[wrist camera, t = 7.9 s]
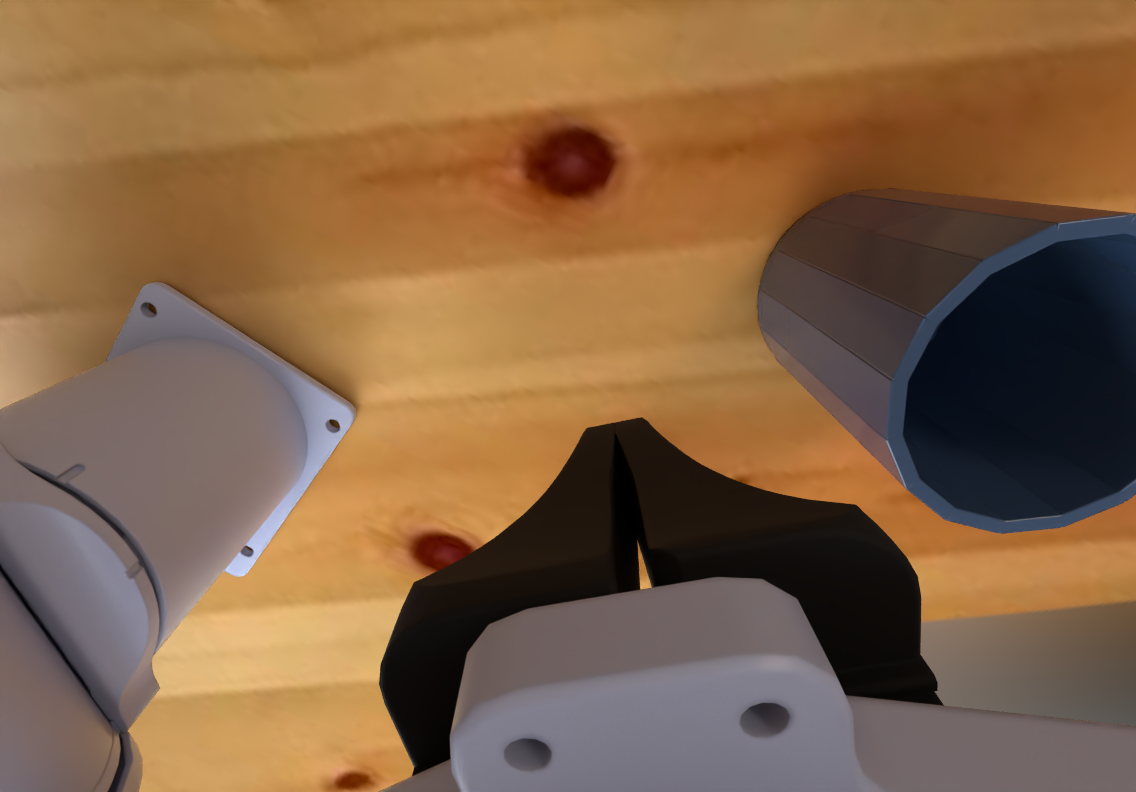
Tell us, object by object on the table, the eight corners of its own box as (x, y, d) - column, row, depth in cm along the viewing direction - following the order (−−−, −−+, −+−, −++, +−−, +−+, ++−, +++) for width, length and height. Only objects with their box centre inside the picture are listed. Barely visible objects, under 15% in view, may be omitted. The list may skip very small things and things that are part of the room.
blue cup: (848, 418, 22) (1020, 581, 13) (716, 310, 20) (819, 418, 12) (999, 275, 20) (1312, 363, 11) (864, 142, 18) (1113, 133, 10)
